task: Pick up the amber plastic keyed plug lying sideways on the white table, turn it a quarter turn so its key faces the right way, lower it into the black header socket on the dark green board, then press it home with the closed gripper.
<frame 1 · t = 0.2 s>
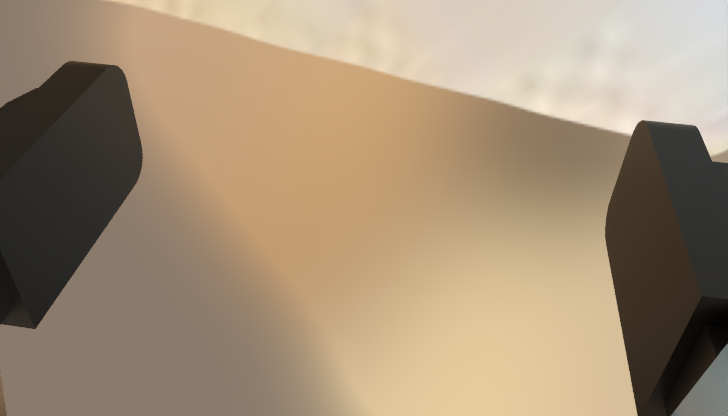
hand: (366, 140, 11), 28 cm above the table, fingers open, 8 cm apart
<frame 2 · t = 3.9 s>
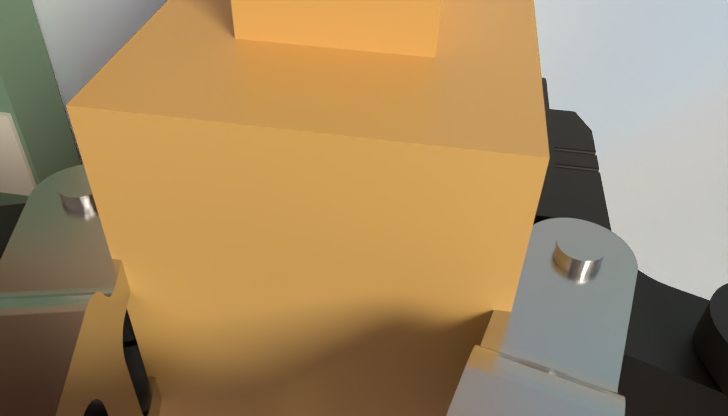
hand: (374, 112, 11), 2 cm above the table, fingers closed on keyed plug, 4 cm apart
keyed plug: (389, 64, 13), on the table, touching gripper
when the fingers open (5 cm above the table, at t = 10.1 s): keyed plug drops 1 cm, resting on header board.
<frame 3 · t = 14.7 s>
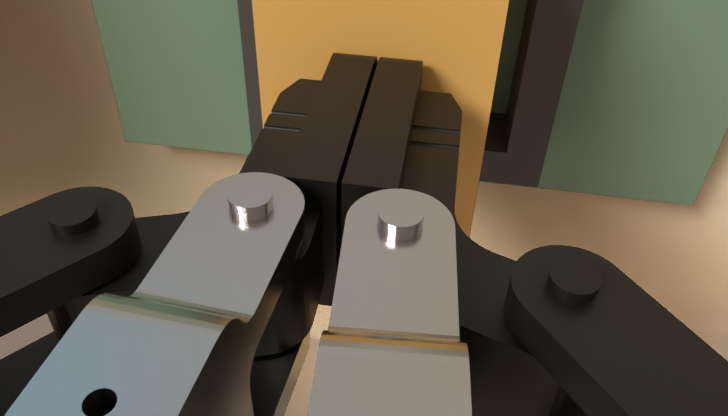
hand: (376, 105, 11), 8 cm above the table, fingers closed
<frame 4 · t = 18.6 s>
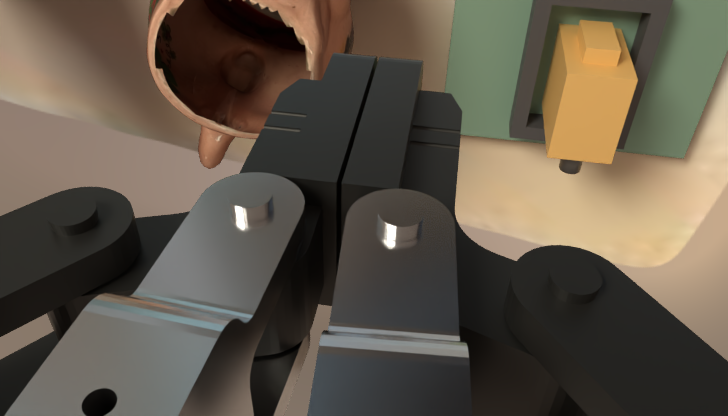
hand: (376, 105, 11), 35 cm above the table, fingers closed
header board: (579, 50, 47), on the table
keyed plug: (579, 67, 46), point 1 cm above the table, touching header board
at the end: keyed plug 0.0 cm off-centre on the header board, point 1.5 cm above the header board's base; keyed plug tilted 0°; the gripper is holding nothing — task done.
